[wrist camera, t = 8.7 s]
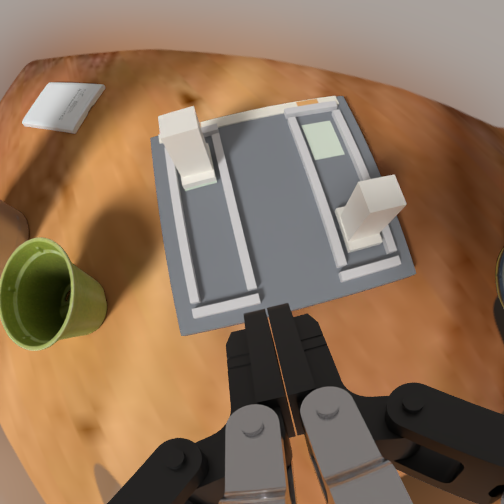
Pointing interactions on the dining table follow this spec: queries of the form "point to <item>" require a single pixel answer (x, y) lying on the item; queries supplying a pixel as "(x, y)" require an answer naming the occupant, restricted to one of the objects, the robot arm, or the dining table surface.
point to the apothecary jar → (500, 277)
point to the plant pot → (47, 296)
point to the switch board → (271, 216)
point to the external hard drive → (63, 106)
